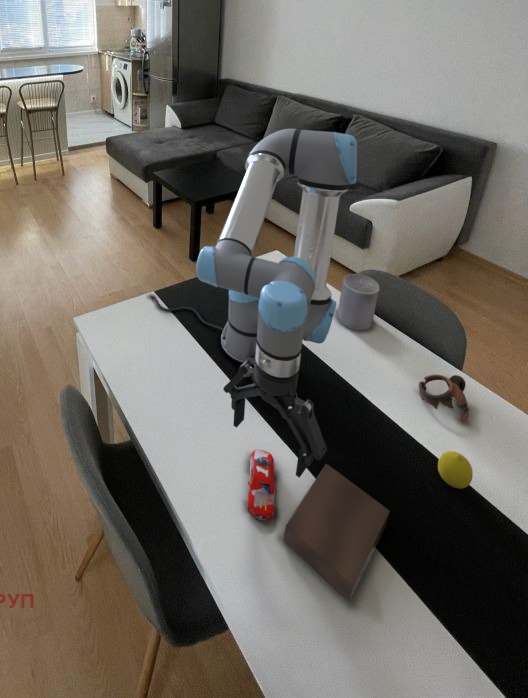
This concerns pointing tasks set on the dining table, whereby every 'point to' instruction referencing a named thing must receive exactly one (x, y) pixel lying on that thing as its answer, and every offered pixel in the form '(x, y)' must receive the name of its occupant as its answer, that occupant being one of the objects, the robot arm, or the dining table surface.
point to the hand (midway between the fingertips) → (268, 445)
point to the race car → (261, 486)
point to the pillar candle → (358, 301)
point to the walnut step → (336, 530)
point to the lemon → (455, 469)
